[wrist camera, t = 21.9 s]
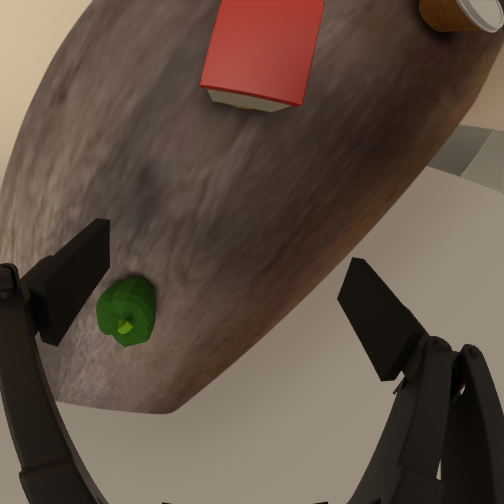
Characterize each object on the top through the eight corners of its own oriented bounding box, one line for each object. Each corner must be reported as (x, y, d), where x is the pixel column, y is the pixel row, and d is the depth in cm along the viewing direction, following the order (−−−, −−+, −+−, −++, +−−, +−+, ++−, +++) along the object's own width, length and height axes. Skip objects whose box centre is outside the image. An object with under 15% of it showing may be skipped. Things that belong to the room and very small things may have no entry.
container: (228, -21, 15) (199, 85, 19) (324, 1, 16) (302, 105, 20) (227, 27, 27) (209, 101, 30) (291, 40, 28) (274, 113, 32)
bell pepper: (127, 320, 42) (109, 365, 33) (101, 277, 39) (75, 316, 30) (173, 308, 42) (162, 355, 33) (149, 261, 38) (130, 301, 29)
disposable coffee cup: (420, -19, 23) (465, -41, 12) (460, 21, 25) (509, 10, 14) (401, 9, 26) (451, -13, 15) (445, 52, 28) (499, 44, 17)
